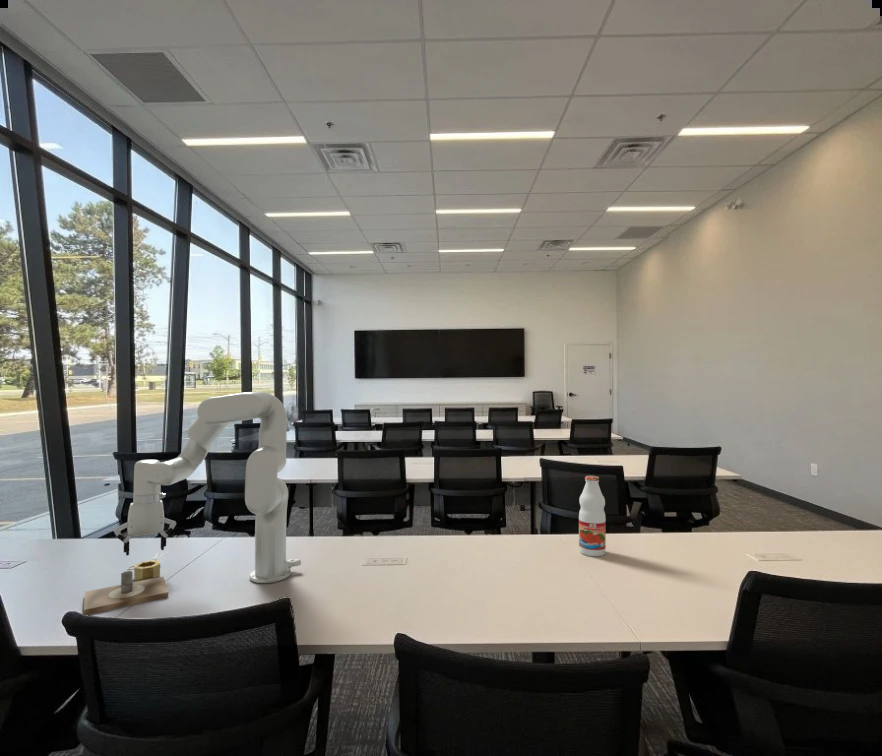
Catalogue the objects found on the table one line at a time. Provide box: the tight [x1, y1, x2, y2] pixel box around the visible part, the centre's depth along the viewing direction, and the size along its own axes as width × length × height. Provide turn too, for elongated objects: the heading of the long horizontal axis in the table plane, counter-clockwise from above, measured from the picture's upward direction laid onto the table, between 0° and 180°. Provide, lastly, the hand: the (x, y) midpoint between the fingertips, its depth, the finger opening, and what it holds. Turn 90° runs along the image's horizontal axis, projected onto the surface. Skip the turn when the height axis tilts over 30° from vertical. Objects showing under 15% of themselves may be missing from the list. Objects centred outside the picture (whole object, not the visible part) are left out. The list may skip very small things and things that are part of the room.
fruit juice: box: [578, 475, 607, 557], centre depth 181 cm, size 9×9×28 cm
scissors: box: [126, 550, 171, 571], centre depth 173 cm, size 11×1×20 cm
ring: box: [133, 559, 161, 582], centre depth 158 cm, size 7×7×4 cm
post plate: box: [83, 570, 169, 616], centre depth 143 cm, size 20×14×7 cm
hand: (145, 551), depth 158 cm, fingers open, 9 cm apart
